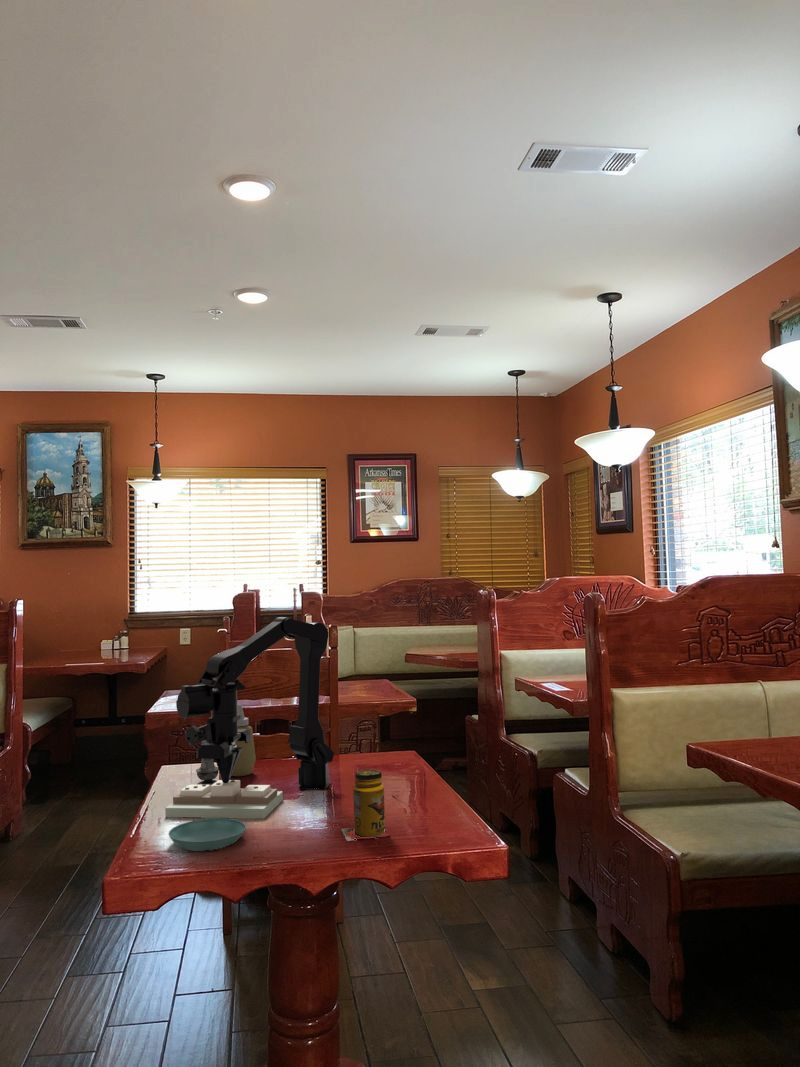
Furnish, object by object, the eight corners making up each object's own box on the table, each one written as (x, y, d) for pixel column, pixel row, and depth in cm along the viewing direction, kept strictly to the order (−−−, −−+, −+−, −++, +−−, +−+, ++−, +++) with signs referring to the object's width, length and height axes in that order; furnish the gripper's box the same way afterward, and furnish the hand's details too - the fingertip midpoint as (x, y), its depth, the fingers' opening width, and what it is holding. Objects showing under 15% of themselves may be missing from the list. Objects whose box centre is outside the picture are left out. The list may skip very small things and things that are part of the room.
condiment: (390, 837, 155) (388, 774, 156) (347, 842, 153) (345, 778, 154) (382, 826, 162) (380, 766, 163) (341, 830, 160) (339, 769, 161)
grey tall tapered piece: (213, 787, 197) (212, 737, 198) (191, 786, 198) (190, 737, 199) (223, 781, 203) (222, 733, 204) (202, 780, 204) (201, 733, 205)
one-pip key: (270, 796, 180) (270, 784, 180) (263, 802, 175) (263, 790, 175) (248, 796, 180) (248, 784, 180) (241, 802, 175) (241, 789, 175)
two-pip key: (240, 791, 181) (240, 779, 181) (232, 797, 176) (232, 784, 176) (219, 791, 181) (218, 779, 181) (210, 797, 176) (210, 784, 176)
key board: (282, 800, 184) (282, 785, 184) (264, 818, 170) (263, 802, 170) (191, 799, 187) (191, 784, 187) (165, 817, 173) (165, 801, 173)
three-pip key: (210, 795, 181) (210, 783, 182) (202, 802, 177) (201, 789, 177) (189, 795, 182) (189, 783, 182) (180, 801, 177) (180, 789, 177)
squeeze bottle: (253, 777, 206) (251, 706, 207) (221, 778, 206) (220, 707, 207) (258, 770, 214) (257, 701, 215) (228, 770, 214) (227, 702, 215)
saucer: (229, 857, 147) (229, 842, 147) (154, 854, 150) (154, 840, 150) (257, 831, 162) (257, 818, 162) (188, 830, 164) (188, 816, 165)
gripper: (205, 705, 190) (207, 772, 189) (172, 719, 171) (173, 793, 171) (251, 704, 188) (252, 772, 187) (222, 719, 170) (224, 794, 169)
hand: (225, 782), depth 179 cm, fingers closed
